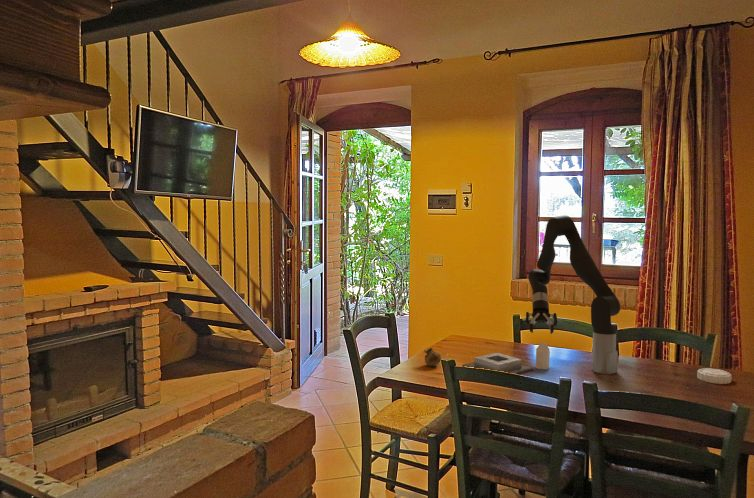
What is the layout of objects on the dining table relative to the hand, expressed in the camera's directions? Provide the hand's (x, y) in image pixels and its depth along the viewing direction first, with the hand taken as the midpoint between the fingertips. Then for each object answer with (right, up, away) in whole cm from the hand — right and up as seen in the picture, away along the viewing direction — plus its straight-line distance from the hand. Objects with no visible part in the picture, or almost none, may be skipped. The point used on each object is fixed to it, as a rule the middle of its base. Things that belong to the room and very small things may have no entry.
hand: (541, 332), depth 249 cm
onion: (-51, -15, -4) cm, 53 cm away
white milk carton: (-2, -15, -8) cm, 17 cm away
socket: (-22, -15, -9) cm, 28 cm away
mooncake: (+64, -16, -26) cm, 70 cm away
